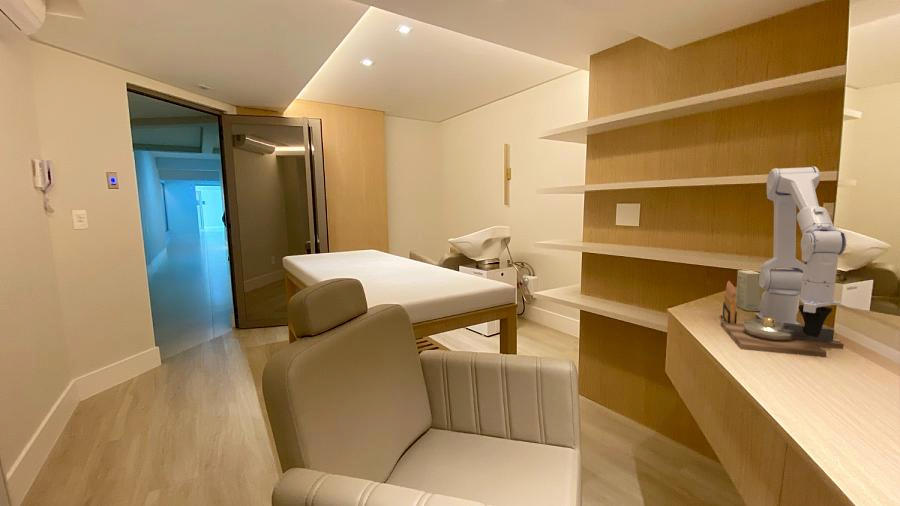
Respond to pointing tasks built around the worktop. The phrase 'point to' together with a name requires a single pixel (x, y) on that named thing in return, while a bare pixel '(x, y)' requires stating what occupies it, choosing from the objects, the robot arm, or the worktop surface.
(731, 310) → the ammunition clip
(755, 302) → the skincare box
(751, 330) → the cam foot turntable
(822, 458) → the worktop surface
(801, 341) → the walnut stand
